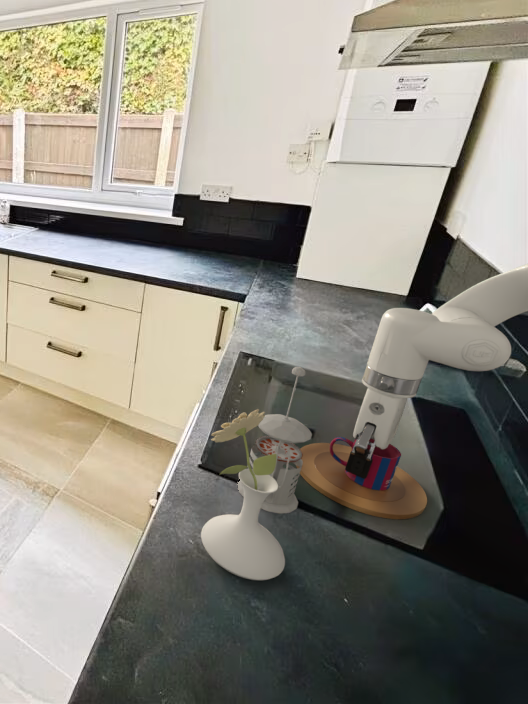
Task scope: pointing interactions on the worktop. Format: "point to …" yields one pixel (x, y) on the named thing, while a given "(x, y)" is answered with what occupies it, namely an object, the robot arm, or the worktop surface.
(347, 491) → the round wooden plate
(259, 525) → the flower in vase
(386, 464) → the mug
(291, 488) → the french press
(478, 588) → the worktop surface
